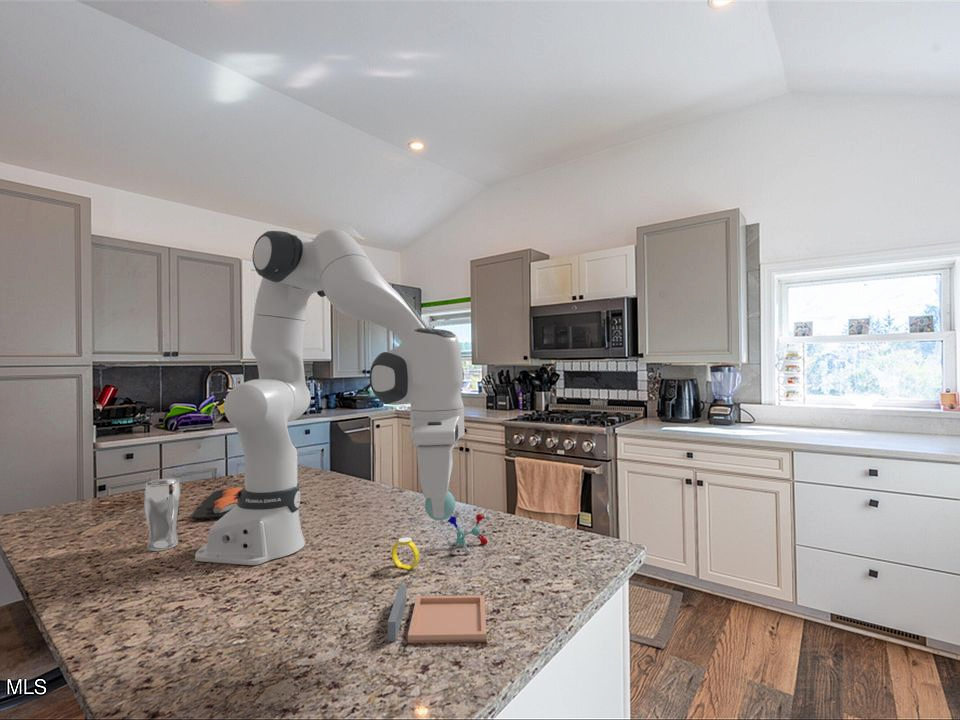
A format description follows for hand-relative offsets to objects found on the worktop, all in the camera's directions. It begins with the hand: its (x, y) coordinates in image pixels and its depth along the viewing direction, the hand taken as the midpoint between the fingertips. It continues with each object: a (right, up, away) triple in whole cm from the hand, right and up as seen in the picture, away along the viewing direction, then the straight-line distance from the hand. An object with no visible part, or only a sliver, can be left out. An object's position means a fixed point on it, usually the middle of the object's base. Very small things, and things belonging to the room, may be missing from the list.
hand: (440, 510), depth 78 cm
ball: (0, -2, 0) cm, 2 cm away
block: (-7, -18, 0) cm, 20 cm away
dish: (+1, -18, 0) cm, 18 cm away
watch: (-9, -19, +20) cm, 29 cm away
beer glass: (-67, -19, +32) cm, 77 cm away
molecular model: (+3, -19, +32) cm, 37 cm away
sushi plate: (-61, -19, +66) cm, 92 cm away
